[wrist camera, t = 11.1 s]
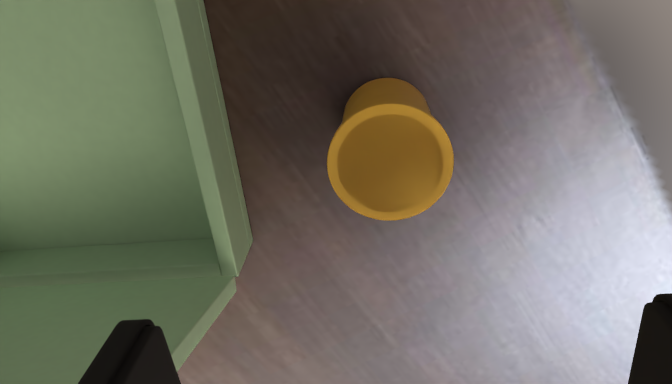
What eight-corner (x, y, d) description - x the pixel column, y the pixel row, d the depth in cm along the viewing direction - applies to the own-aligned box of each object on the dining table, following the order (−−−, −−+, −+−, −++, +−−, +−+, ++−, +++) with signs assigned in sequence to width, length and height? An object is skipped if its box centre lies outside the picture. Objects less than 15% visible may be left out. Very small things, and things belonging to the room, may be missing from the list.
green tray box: (-145, -54, 21) (-229, -55, 18) (183, -98, 20) (150, -108, 17) (-1, 255, 28) (-46, 292, 25) (253, 240, 26) (238, 277, 23)
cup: (362, 53, 22) (359, 81, 17) (455, 96, 22) (478, 136, 17) (321, 143, 24) (307, 192, 19) (407, 181, 24) (416, 238, 19)
